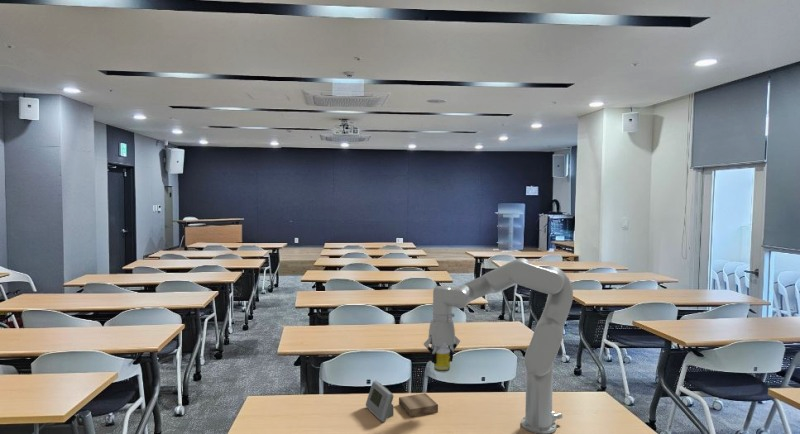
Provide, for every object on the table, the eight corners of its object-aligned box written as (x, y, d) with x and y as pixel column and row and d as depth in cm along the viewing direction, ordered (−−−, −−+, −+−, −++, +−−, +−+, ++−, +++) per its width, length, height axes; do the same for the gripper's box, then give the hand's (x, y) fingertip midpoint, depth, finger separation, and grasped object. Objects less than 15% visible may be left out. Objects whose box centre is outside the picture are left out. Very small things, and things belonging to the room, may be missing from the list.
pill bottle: (449, 374, 181) (449, 344, 181) (432, 372, 182) (433, 343, 182) (450, 368, 187) (450, 339, 187) (434, 366, 189) (435, 338, 188)
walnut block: (425, 400, 195) (425, 393, 195) (437, 412, 184) (438, 404, 183) (398, 404, 190) (399, 397, 190) (410, 417, 179) (410, 409, 179)
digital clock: (364, 406, 189) (364, 380, 188) (386, 403, 191) (386, 378, 191) (373, 424, 173) (373, 396, 173) (396, 421, 176) (396, 394, 175)
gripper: (457, 313, 191) (456, 356, 191) (418, 317, 185) (418, 361, 185) (466, 317, 184) (465, 362, 184) (426, 321, 178) (426, 367, 178)
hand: (441, 361), depth 185 cm, fingers closed on pill bottle, 6 cm apart
